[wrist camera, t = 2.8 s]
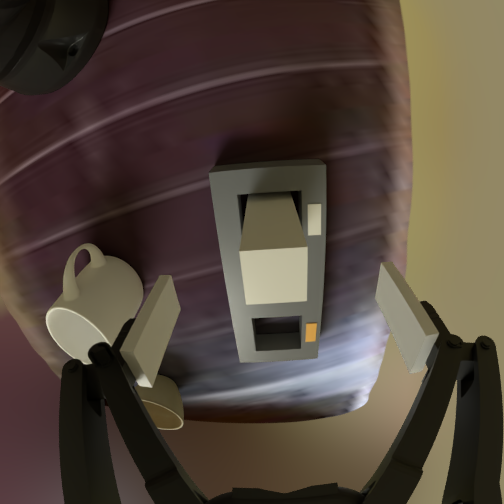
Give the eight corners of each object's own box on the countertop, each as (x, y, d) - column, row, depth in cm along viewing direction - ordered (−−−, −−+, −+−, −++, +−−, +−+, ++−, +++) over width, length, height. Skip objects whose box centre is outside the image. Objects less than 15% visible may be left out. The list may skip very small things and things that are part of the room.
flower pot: (171, 362, 40) (161, 399, 34) (200, 396, 44) (194, 430, 38) (125, 367, 42) (111, 399, 35) (155, 398, 46) (146, 429, 40)
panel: (214, 166, 26) (208, 173, 23) (319, 158, 25) (326, 165, 22) (241, 346, 37) (240, 363, 34) (314, 341, 36) (317, 359, 34)
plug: (248, 192, 27) (239, 251, 17) (289, 190, 27) (307, 247, 16) (253, 239, 29) (247, 316, 19) (291, 236, 29) (306, 312, 19)
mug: (131, 226, 29) (83, 279, 20) (151, 310, 35) (124, 372, 25) (74, 228, 30) (21, 274, 20) (99, 305, 35) (65, 359, 26)
